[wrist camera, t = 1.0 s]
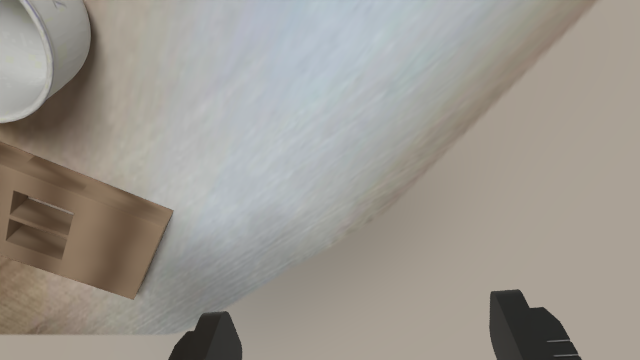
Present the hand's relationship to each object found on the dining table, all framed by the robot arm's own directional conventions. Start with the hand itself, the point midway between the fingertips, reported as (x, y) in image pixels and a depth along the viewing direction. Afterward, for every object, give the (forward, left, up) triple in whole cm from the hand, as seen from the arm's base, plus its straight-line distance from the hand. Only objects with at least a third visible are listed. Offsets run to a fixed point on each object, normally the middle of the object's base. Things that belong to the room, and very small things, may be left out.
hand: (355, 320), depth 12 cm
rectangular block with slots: (+2, -30, -22) cm, 37 cm away
